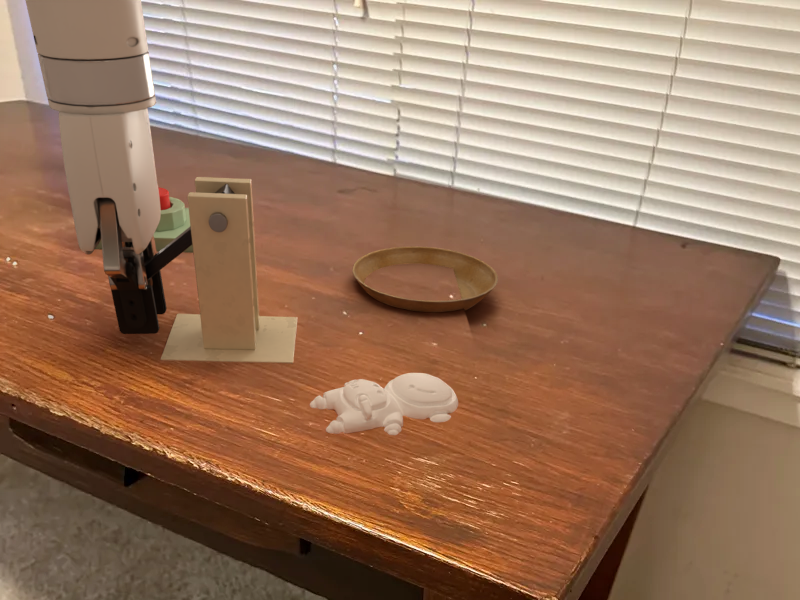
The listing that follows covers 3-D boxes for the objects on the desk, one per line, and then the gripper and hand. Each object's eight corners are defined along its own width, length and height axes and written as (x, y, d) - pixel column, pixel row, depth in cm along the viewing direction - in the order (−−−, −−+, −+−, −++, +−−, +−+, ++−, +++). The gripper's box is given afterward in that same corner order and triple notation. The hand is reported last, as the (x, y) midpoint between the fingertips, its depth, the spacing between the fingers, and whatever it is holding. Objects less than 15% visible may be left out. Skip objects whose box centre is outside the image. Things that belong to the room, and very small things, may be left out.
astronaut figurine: (300, 399, 66) (299, 365, 64) (437, 382, 70) (440, 349, 68) (329, 456, 60) (329, 421, 58) (477, 434, 63) (482, 400, 62)
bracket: (162, 371, 68) (137, 202, 60) (178, 325, 75) (158, 167, 66) (293, 375, 69) (288, 208, 60) (298, 328, 76) (293, 173, 67)
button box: (92, 255, 87) (85, 217, 84) (113, 224, 95) (106, 188, 92) (206, 259, 88) (202, 222, 85) (217, 228, 96) (214, 192, 93)
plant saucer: (333, 275, 87) (333, 250, 85) (459, 263, 91) (461, 240, 90) (380, 334, 76) (381, 308, 75) (519, 318, 81) (523, 293, 79)
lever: (129, 315, 68) (100, 285, 66) (136, 300, 71) (108, 270, 69) (247, 223, 64) (219, 188, 62) (250, 210, 66) (223, 176, 65)
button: (133, 213, 88) (131, 196, 86) (139, 202, 90) (137, 185, 89) (167, 214, 88) (165, 197, 87) (173, 203, 91) (171, 187, 89)
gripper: (73, 61, 65) (119, 286, 76) (11, 105, 52) (77, 367, 63) (169, 63, 65) (200, 286, 77) (131, 106, 53) (174, 365, 64)
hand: (144, 320), depth 70 cm, fingers closed on lever, 3 cm apart
